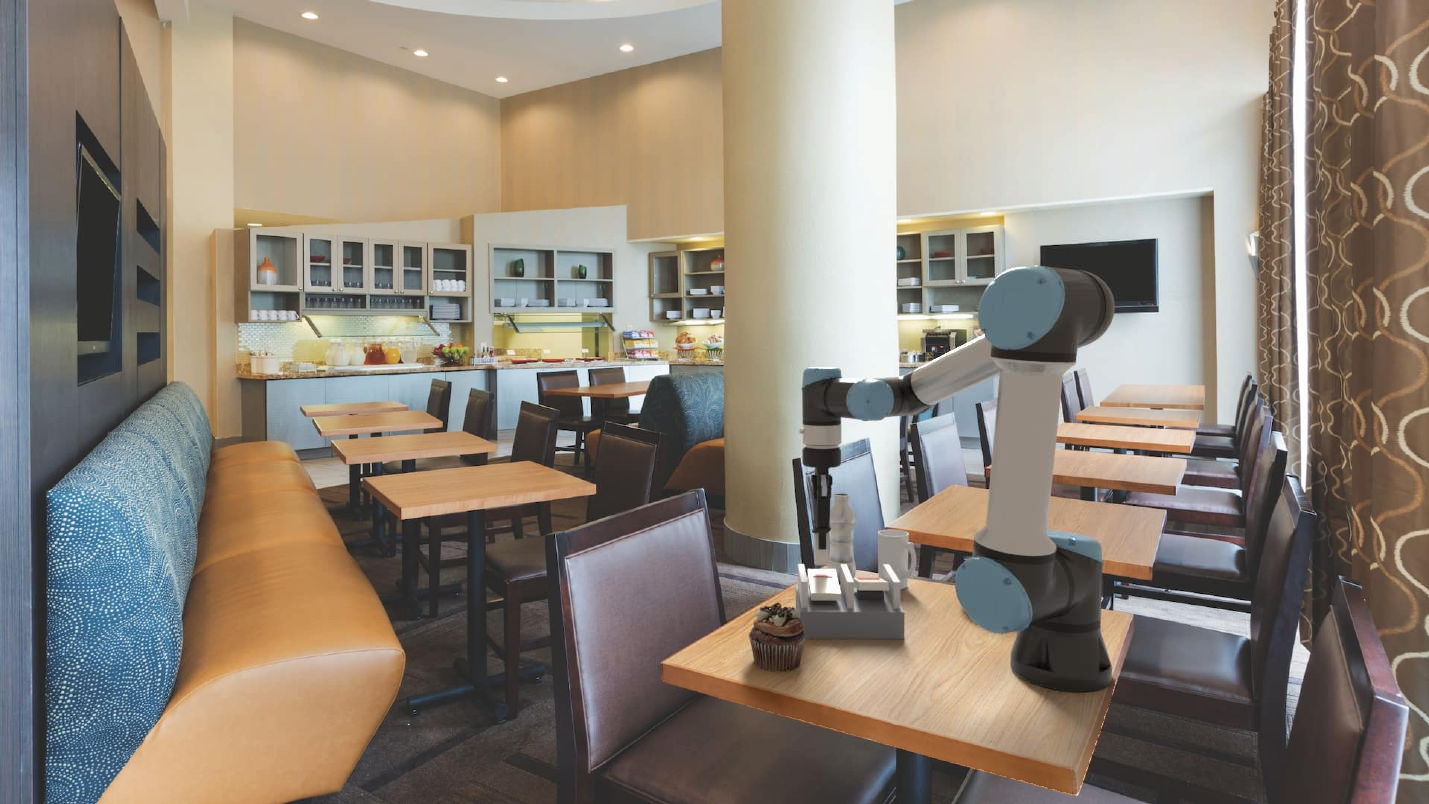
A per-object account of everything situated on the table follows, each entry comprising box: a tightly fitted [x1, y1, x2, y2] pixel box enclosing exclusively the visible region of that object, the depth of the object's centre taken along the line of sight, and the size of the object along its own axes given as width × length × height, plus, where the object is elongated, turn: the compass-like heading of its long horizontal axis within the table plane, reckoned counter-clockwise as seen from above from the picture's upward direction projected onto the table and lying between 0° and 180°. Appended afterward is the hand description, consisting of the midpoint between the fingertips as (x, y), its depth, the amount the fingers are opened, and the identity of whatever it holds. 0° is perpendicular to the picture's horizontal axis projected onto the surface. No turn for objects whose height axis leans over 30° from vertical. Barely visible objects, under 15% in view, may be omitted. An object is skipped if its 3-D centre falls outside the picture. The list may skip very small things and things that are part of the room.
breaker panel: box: [795, 563, 905, 640], centre depth 150 cm, size 16×19×10 cm
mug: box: [877, 529, 917, 590], centre depth 172 cm, size 10×7×12 cm, turn 32°
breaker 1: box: [807, 568, 841, 601], centre depth 150 cm, size 10×6×2 cm, turn 177°
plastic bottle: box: [826, 492, 857, 582], centre depth 177 cm, size 6×7×20 cm
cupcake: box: [748, 602, 806, 673], centre depth 132 cm, size 10×10×10 cm
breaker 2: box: [853, 576, 889, 591], centre depth 149 cm, size 10×6×2 cm, turn 177°
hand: (821, 564), depth 153 cm, fingers closed
